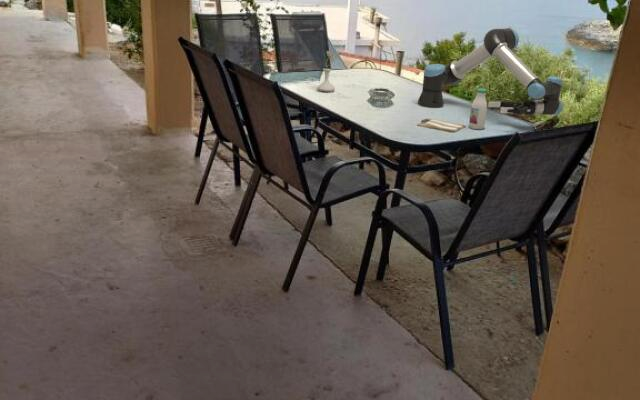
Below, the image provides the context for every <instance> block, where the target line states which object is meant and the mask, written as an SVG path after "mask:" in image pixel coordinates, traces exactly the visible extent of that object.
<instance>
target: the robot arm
mask: <svg viewBox="0 0 640 400" xmlns="http://www.w3.org/2000/svg"><path fill="white" fill-rule="evenodd" d="M519 41H520V37H519V34H518V32H517V31H516V30H515V29H514V28H511V27H506V28H493V29H491V30H489V31H487V32H486V33H485V35H484V37H483V44H482V45H480V46H478V47H477V48H475V49H474V50H473V51H471V52H469V53H468V54H466V55H465V56H463V57H462V58H460V59H459V60H452V61H451V62H450V63H449V64H447V65H444V64H442V63H432V64H427V65H426V66H425V67H424V72H423V79H422V82H423V83H422V90H421V93H420V96H419V98H418V100H417V105H418V106H421V107H426V108H435V109H436V108H443V107H444V103H445V101H444V96H443V89H444V87H447V86H456V85H458V84H460V83H461V82H462V80H463V79H464V78H465V76H466V74H467V73H469V72H470V71H472V70H474V69H476V68H477V67H478V66H480V65H482V64H483V63H484V62H487V61H488V60H489V59H492V58H496V59H497V60H498V61H499V62H500V63H501V64H502V65H503V66H504V67H505V68H506V69H507V70H508V71H509V72H510V73H511V74H512V76H514V78H515V79H517V80H518V81H519V83H521V85H522V86H523V87H525V88H526V90H527V94H528V95H527V96H528V97H530V98H531V99H526V100H524V101H523V103H522V102H518V101H507V100H499V101H488V103H487V108H499V109H500V112H499V113H500V114H514V115H515V114H516V115H523V114H524V115H526V116H534V115H535V116H539V115H540V116H541V115H543V116H545V115H547V116H552V115H553V116H554V115H555V116H556V115H560V114H561V113H562V112H563V101H561V100H560V95H561V91H562V87H563V85H562V84H563V78H562V77H560V76H547V79H546V81H545V82H544V81H542V80H541V78H539V77H538V76H537V75H536V74H535V73H534V72H533V71H532V70H531V69H530V68H529V66H527V65H526V64H525V63H524V62H523V61H522V60H521V59H520V58H519V57H518V56H517V55H516V54H515V53H514V52H513V50H515V49H516V48H517V46H518V44H519ZM533 99H534V100H533Z"/></svg>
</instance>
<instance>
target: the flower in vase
mask: <svg viewBox="0 0 640 400" xmlns="http://www.w3.org/2000/svg"><path fill="white" fill-rule="evenodd" d="M326 55H327V59H326V62H324V63H325V64H324V65H325V67H326V68H323V69H322V70H323V73H324V80H323V82H321V83H320V84H319V85H318V86H317V90H318V91H320V92H325V93H329V92H330V93H331V92H334V91H335V90H336V87H335V86H334V85H333V84H332V83H331V82H330V81H329V75H330V72H331V70H332V69H331V68H328V67H329V66H330V64H328V65H327V62H328V60H330V61H331V62H332V63H333V62H335V58H334V56H333V54H332V53H331V52H330V51H329V50H326Z"/></svg>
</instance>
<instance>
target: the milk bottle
mask: <svg viewBox="0 0 640 400" xmlns="http://www.w3.org/2000/svg"><path fill="white" fill-rule="evenodd" d="M486 95H487V89H486V88H477V90H476V96H475V98H474V100H473V102H472V104H471V109H470V115H469V121H468V128H469V129H471V130H483V129H484V128H485V124H486V118H487V117H486V116H487V110H488V103H487V98H486Z"/></svg>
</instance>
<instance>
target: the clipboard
mask: <svg viewBox="0 0 640 400" xmlns="http://www.w3.org/2000/svg"><path fill="white" fill-rule="evenodd" d="M416 126H417V127H422V128H427V129H432V130H438V131H443V132H448V133H453V134H454V133H456V132H458V131H460V130H462V129H465V128H466V125H464V124H461V123H455V122H451V121H444V120H439V119H434V118H424V119H421V121H420V122H418V123H416Z"/></svg>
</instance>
